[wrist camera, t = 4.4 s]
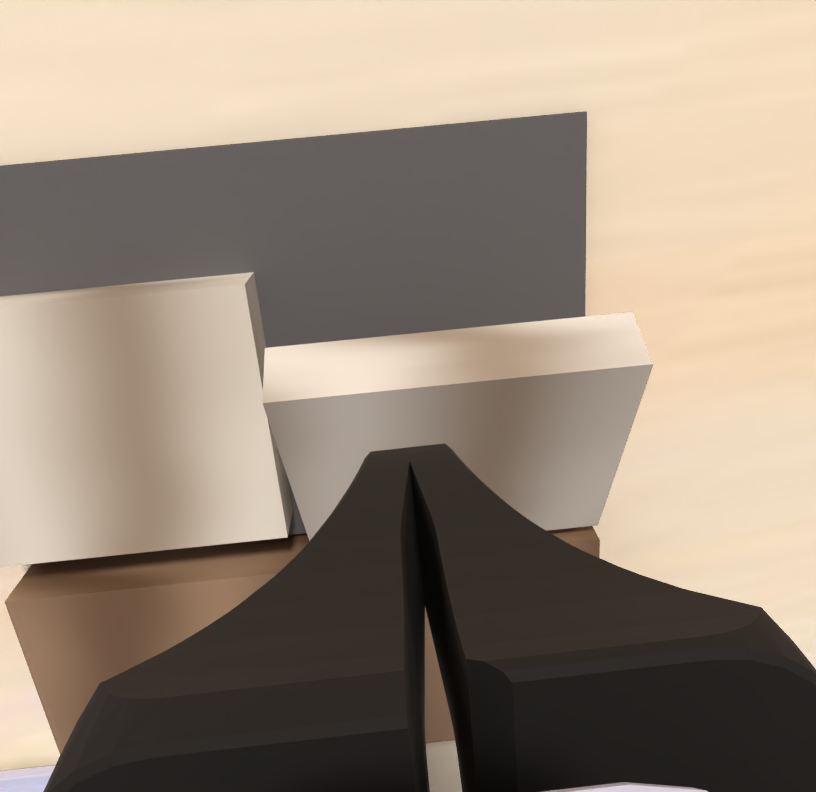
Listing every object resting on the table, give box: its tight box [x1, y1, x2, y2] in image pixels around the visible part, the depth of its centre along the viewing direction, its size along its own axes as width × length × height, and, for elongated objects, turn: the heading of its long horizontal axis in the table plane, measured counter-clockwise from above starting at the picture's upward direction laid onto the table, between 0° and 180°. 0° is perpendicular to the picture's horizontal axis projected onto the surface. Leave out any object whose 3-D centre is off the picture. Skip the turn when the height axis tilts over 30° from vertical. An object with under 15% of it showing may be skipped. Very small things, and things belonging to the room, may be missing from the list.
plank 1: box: [0, 272, 293, 567], centre depth 19 cm, size 8×7×2 cm
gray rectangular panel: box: [0, 112, 587, 535], centre depth 19 cm, size 17×11×1 cm, turn 95°
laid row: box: [5, 526, 600, 755], centre depth 22 cm, size 17×7×2 cm, turn 95°
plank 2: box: [262, 312, 653, 541], centre depth 18 cm, size 8×7×2 cm
